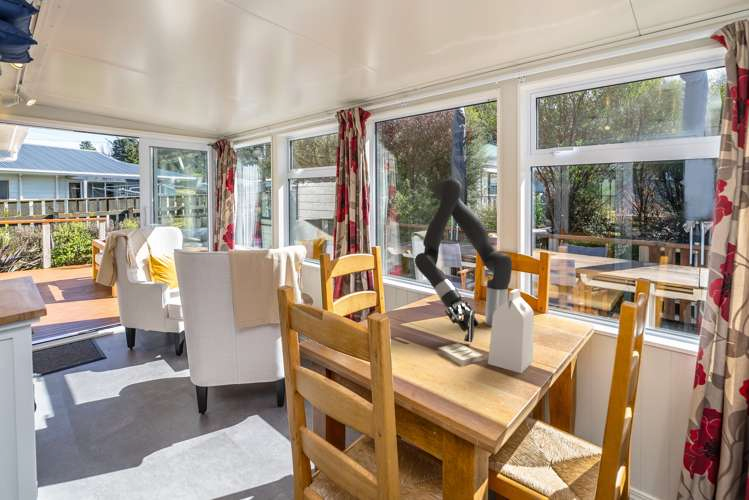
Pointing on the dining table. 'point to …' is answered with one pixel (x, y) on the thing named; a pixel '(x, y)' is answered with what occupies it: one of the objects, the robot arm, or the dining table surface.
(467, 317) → the dark upright piece
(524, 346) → the milk
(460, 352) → the board
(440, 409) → the dining table surface
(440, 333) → the dining table surface
